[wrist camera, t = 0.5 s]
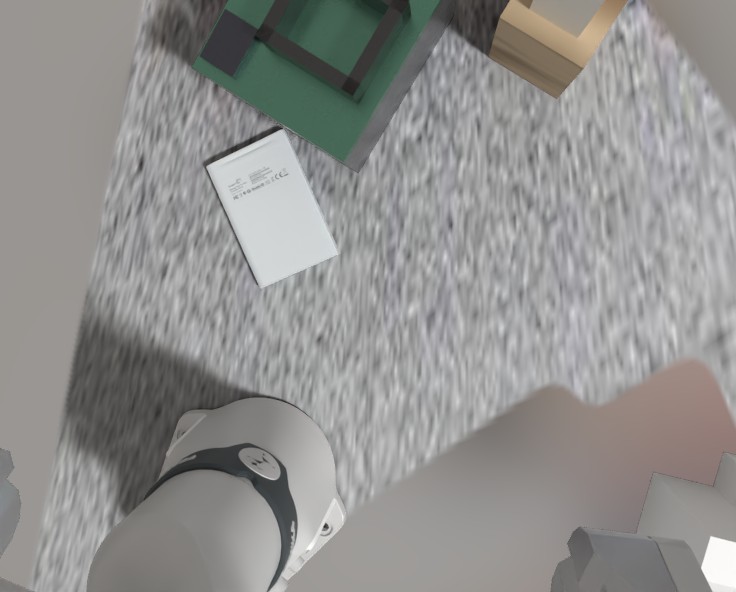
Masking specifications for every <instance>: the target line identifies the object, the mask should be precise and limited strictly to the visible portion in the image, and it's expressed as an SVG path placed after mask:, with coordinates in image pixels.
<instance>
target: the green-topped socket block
mask: <svg viewBox="0 0 736 592" xmlns="http://www.w3.org/2000/svg"><path fill="white" fill-rule="evenodd" d="M454 10H455V0H228V1H227V3H226V5H225V7H224V9H223V11H222V12H221V14H220V16H219V18H218V20H217V22H216V24H215V25H214V27H213V29H212V31H211V33H210V35H209V36H208V38H207V40H206V42H205V44H204V46H203V48H202V49H201V51H200V53H199V55H198V57H197V59H196V60H195V62H194V64H193V66H192V68H194V69H195V70H197V71H198V72H200V73H201V74H203V75H204V76H205V77H207V78H208V79H210V80H211V81H213V82H214V83H216V84H217V85H219V86H220V87H222V88H223V89H225V90H226V91H228V92H229V93H231V94H233V95H234V96H236V97H237V98H239V99H241V100H242V101H244V102H245V103H247V104H249V105H250V106H252V107H253V108H255V109H256V110H258V111H260V112H261V113H263V114H264V115H266V116H268V117H269V118H271V119H272V120H274V121H276V122H277V123H279V124H280V125H282V126H284V127H285V128H287V129H288V130H290V131H292V132H293V133H295V134H296V135H298V136H300V137H301V138H303V139H304V140H306V141H307V142H309V143H311V144H312V145H314V146H315V147H317V148H319V149H320V150H322V151H323V152H325V153H327V154H328V155H330V156H331V157H333V158H335V159H336V160H338V161H339V162H341V163H343V164H344V165H346V166H347V167H349V168H350V169H352V170H354V171H355V172H357V173H359V172H360V170H361V168H362V167H363V165H364V163H365V162H366V160H367V158H368V157H369V155H370V153H371V152H372V150H373V148H374V147H375V145H376V143H377V142H378V140H379V138H380V137H381V135H382V133H383V132H384V130H385V128H386V127H387V125H388V124H389V122H390V120H391V119H392V117H393V115H394V114H395V112H396V110H397V109H398V107H399V105H400V104H401V102H402V100H403V99H404V97H405V95H406V94H407V92H408V90H409V89H410V87H411V85H412V84H413V82H414V80H415V79H416V77H417V76H418V74H419V72H420V71H421V69H422V67H423V66H424V64H425V62H426V61H427V59H428V57H429V56H430V54H431V52H432V51H433V49H434V47H435V46H436V44H437V42H438V41H439V39H440V37H441V36H442V34H443V33H444V31H445V29H446V28H447V26H448V24H449V23H450V21H451V19H452V18H453V16H454Z"/></svg>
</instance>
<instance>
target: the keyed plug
mask: <svg viewBox="0 0 736 592" xmlns="http://www.w3.org/2000/svg"><path fill="white" fill-rule="evenodd" d="M604 1H605V0H533V1H532V4H531V6H530V10H531V11H533V12H535V13H536V14H538V15H540V16H541V17H543V18H545V19H546V20H548V21H549V22H551V23H553V24H554V25H556V26H558V27H559V28H561V29H563V30H564V31H566V32H568V33H569V34H571V35H573V36H574V37H576V38H578V37H579V36H580V35H581V33H582V32H583V30H584V29H585V28H586V26H587V25H588V23H589V22H590V21H591V19H592V18H593V16H594V15H595V13H596V12H597V11H598V9H599V8H600V6H601V5H602V4H603V2H604Z"/></svg>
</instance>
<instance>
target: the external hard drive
mask: <svg viewBox="0 0 736 592" xmlns="http://www.w3.org/2000/svg"><path fill="white" fill-rule="evenodd" d="M206 168H207V170H208V172H209V175H210V177H211V179H212V181H213V184H214V186H215V188H216V191H217V193H218V195H219V197H220V200H221V202H222V204H223V206H224V209H225V211H226V213H227V215H228V218H229V220H230V222H231V224H232V227H233V229H234V231H235V234H236V236H237V238H238V240H239V243H240V245H241V247H242V249H243V252H244V254H245V256H246V258H247V261H248V263H249V265H250V267H251V269H252V271H253V274H254V276H255V278H256V281H257V283H258V285H259V287H260V289H262V288H265V287H267V286H269V285H271V284H274V283H276V282H278V281H280V280H283V279H285V278H287V277H289V276H292V275H294V274H296V273H298V272H301V271H303V270H305V269H307V268H310V267H312V266H314V265H316V264H319V263H321V262H323V261H325V260H328V259H330V258H332V257H334V256H337V255H339V254H340V252H339V250H338V247H337V245H336V243H335V241H334V238H333V236H332V234H331V231H330V229H329V227H328V225H327V223H326V220H325V218H324V216H323V213H322V211H321V209H320V207H319V204H318V202H317V200H316V198H315V195H314V193H313V191H312V188H311V186H310V184H309V182H308V179H307V177H306V175H305V173H304V170H303V168H302V166H301V163H300V161H299V159H298V157H297V154H296V152H295V150H294V148H293V145H292V143H291V141H290V139H289V136H288V134H287V132H286V130H285V129H281V130H279V131H277V132H275V133H273V134H271V135H269V136H267V137H265V138H263V139H261V140H259V141H257V142H254V143H252V144H250V145H248V146H246V147H244V148H242V149H240V150H238V151H236V152H234V153H232V154H230V155H228V156H226V157H223V158H221V159H219V160H217V161H215V162H213V163H211V164H209V165H208V166H206Z"/></svg>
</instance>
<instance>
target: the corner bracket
mask: <svg viewBox="0 0 736 592" xmlns="http://www.w3.org/2000/svg"><path fill="white" fill-rule="evenodd" d="M636 534H643V535H645V536H655V537H663V538H670V539H678V540H684V541H685V542H686V543H687V544H688V545H689V546H690V547H691V549H692V551H693V553H694V555H695V557H696V559H697V561H698V563H699V565H700V567H701V569H702V571H703V573H704V575H705V577H706V579H707V581H708V583H709V585H710V587H711V589H712V592H736V455H735V454H731V453H727V452H723V455H722V458H721V462H720V465H719V468H718V471H717V475H716V478H715V482H714V485H713V486H710V485H705V484H701V483H697V482H693V481H689V480H685V479H681V478H677V477H673V476H668V475H664V474H660V473H656V472H653V474H652V477H651V481H650V484H649V488H648V492H647V495H646V499H645V502H644V505H643V509H642V513H641V516H640V520H639V523H638V527H637V531H636Z"/></svg>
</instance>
